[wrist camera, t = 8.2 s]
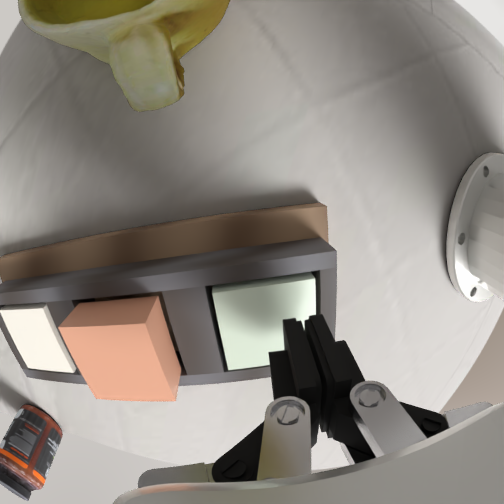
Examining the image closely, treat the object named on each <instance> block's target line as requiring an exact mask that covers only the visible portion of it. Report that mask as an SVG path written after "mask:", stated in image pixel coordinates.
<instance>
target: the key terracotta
mask: <svg viewBox="0 0 504 504" xmlns="http://www.w3.org/2000/svg"><path fill="white" fill-rule="evenodd" d="M58 328H59V330H60V332H61V335H62V337H63V339H64V341H65V343H66V345H67V347H68V349H69V351H70V353H71V355H72V357H73V359H74V361H75V363H76V365H77V367H78V368H79V370H80V372H81V374H82V376H83V377H84V379H85V381H86V383H87V384H88V386H89V388H90V389H91V391H92V393H93V394H94V396H95V397H96V399H106V400H123V401H176V397H177V391H178V385H179V380H180V374H181V367H180V364H179V361H178V358H177V356H176V353H175V350H174V347H173V344H172V340H171V337H170V334H169V331H168V328H167V325H166V321H165V318H164V315H163V311H162V308H161V304H160V301H159V297H158V296H150V297H141V298H131V299H120V300H109V301H98V302H86V303H79V304H78V305H77V306H76V307H75V308H74V310H73V311H72V312H71V313H70V314H69V315H68V316H67V318H66V319H65V320H64V321H63V322H62V323H61V325H60V326H59V327H58Z"/></svg>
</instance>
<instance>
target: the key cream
mask: <svg viewBox="0 0 504 504" xmlns="http://www.w3.org/2000/svg"><path fill="white" fill-rule="evenodd" d="M0 313H1V315H2V318H3V320H4V322H5V324H6V327H7V329H8V331H9V333H10V335H11V337H12V339H13V341H14V343H15V345H16V347H17V349H18V351H19V353H20V354H21V356H22V358H23V360H24V362H25V363H26V365H27V367H28V368H32V369H40V370H48V371H58V372H70V373H74V372H75V370H76V367H75V365H74V363H73V361H72V359H71V357H70V355H69V353H68V351H67V349H66V347H65V345H64V343H63V341H62V339H61V337H60V335H59V333H58V330H57V328H56V326H55V324H54V321H53V319H52V317H51V314H50V312H49V309H48V307H47V304H46V302H40V303H26V304H10V305H5V306H4V307H3V308H1V309H0Z"/></svg>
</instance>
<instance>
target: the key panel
mask: <svg viewBox="0 0 504 504" xmlns="http://www.w3.org/2000/svg"><path fill="white" fill-rule="evenodd" d="M303 272H311V273H312V275H313V276H314V277H315V287H316V315H317V314H323V316H324V318H325V320H326V323H327V325H328V327H329V329H330V331H331V333H332V335H333V337H334V340H335V324H336V292H337V251H336V250H335V249H334V248H333V247H332V246H331V245H329V244H328V221H327V206H325V205H323V204H321V203H311V204H301V205H292V206H283V207H275V208H266V209H258V210H250V211H242V212H235V213H227V214H220V215H213V216H206V217H199V218H192V219H186V220H179V221H173V222H167V223H160V224H154V225H148V226H142V227H137V228H131V229H125V230H120V231H114V232H109V233H104V234H98V235H93V236H88V237H83V238H78V239H73V240H68V241H64V242H59V243H54V244H50V245H45V246H41V247H36V248H32V249H27V250H23V251H19V252H15V253H11V254H6V255H4V256H2V257H0V277H1V280H2V282H3V283H1V284H0V309H1V308H3V307H4V306H5V305H10V304H26V303H40V302H46V304H47V307H48V309H49V312H50V314H51V317H52V319H53V321H54V324H55V326H56V328H57V330H58V333H59V335H60V337H61V339H62V341H63V343H64V345H65V347H66V349H67V351H68V353H69V355H70V357H71V359H72V361H73V363H74V365H75V367H76V370H75V372H74V373H70V372H58V371H48V370H40V369H32V368H28V367H27V365H26V363H25V362H24V360H23V358H22V356H21V354H20V353H19V351H18V349H17V347H16V345H15V343H14V341H13V339H12V337H11V335H10V333H9V331H8V329H7V327H6V324H5V322H4V320H3V318H2V315H1V313H0V328H1V330H2V332H3V334H4V336H5V338H6V340H7V342H8V344H9V346H10V348H11V350H12V352H13V354H14V355H15V357H16V359H17V361H18V362H19V364H20V366H21V368H22V369H23V371H24V373H25V374H26V376H27V377H30V378H36V379H42V380H49V381H57V382H66V383H76V384H87V383H86V381H85V379H84V377H83V376H82V374H81V372H80V370H79V368H78V367H77V365H76V363H75V361H74V359H73V357H72V355H71V353H70V351H69V349H68V347H67V345H66V343H65V341H64V339H63V337H62V335H61V332H60V330H59V328H58V327H59V326H60V325H61V323H62V322H63V321H64V320H65V319H66V318H67V316H68V315H69V314H70V313H71V312H72V311H73V310H74V308H75V307H76V306H77V305H78V304H79V303H86V302H98V301H109V300H120V299H131V298H141V297H150V296H158V297H159V301H160V304H161V308H162V311H163V315H164V318H165V321H166V325H167V328H168V331H169V334H170V337H171V340H172V344H173V347H174V350H175V353H176V356H177V358H178V361H179V364H180V367H181V374H180V380H179V385H178V386H187V385H203V384H216V383H226V382H236V381H244V380H252V379H260V378H267V377H271V372H270V365H265V366H258V367H251V368H243V369H234V370H228V365H227V361H226V357H225V352H224V348H223V343H222V338H221V334H220V329H219V324H218V320H217V315H216V310H215V305H214V300H213V295H212V290H213V285H217V284H225V283H232V282H240V281H247V280H255V279H262V278H269V277H276V276H283V275H290V274H297V273H303ZM87 385H88V384H87Z"/></svg>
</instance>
